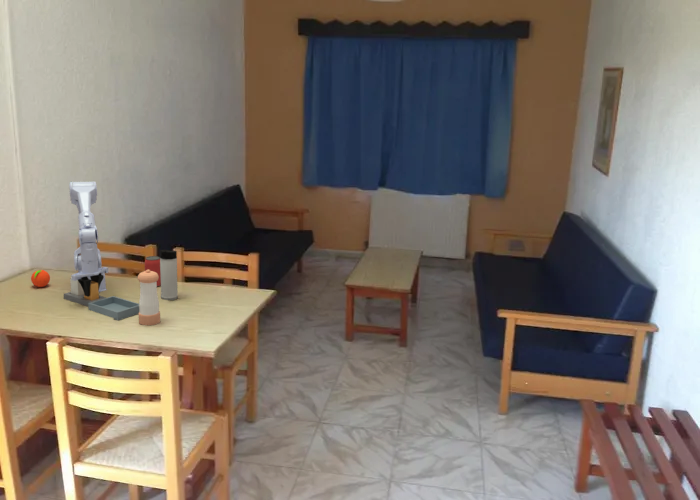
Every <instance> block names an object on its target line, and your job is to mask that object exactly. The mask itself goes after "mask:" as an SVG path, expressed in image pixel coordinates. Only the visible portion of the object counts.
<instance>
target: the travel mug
mask: <svg viewBox="0 0 700 500" xmlns="http://www.w3.org/2000/svg"><path fill="white" fill-rule="evenodd" d="M177 254H178V252H177V250H171V249H160V250H159V255H160V256H159V257H160V258H159V259H160V271H161V285H160V298H161V299H162V300H164V301H169V300H173V301H176V300H178V296H179V295H178V293H179V292H178V257H177V256H178V255H177ZM175 299H176V300H175Z"/></svg>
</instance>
